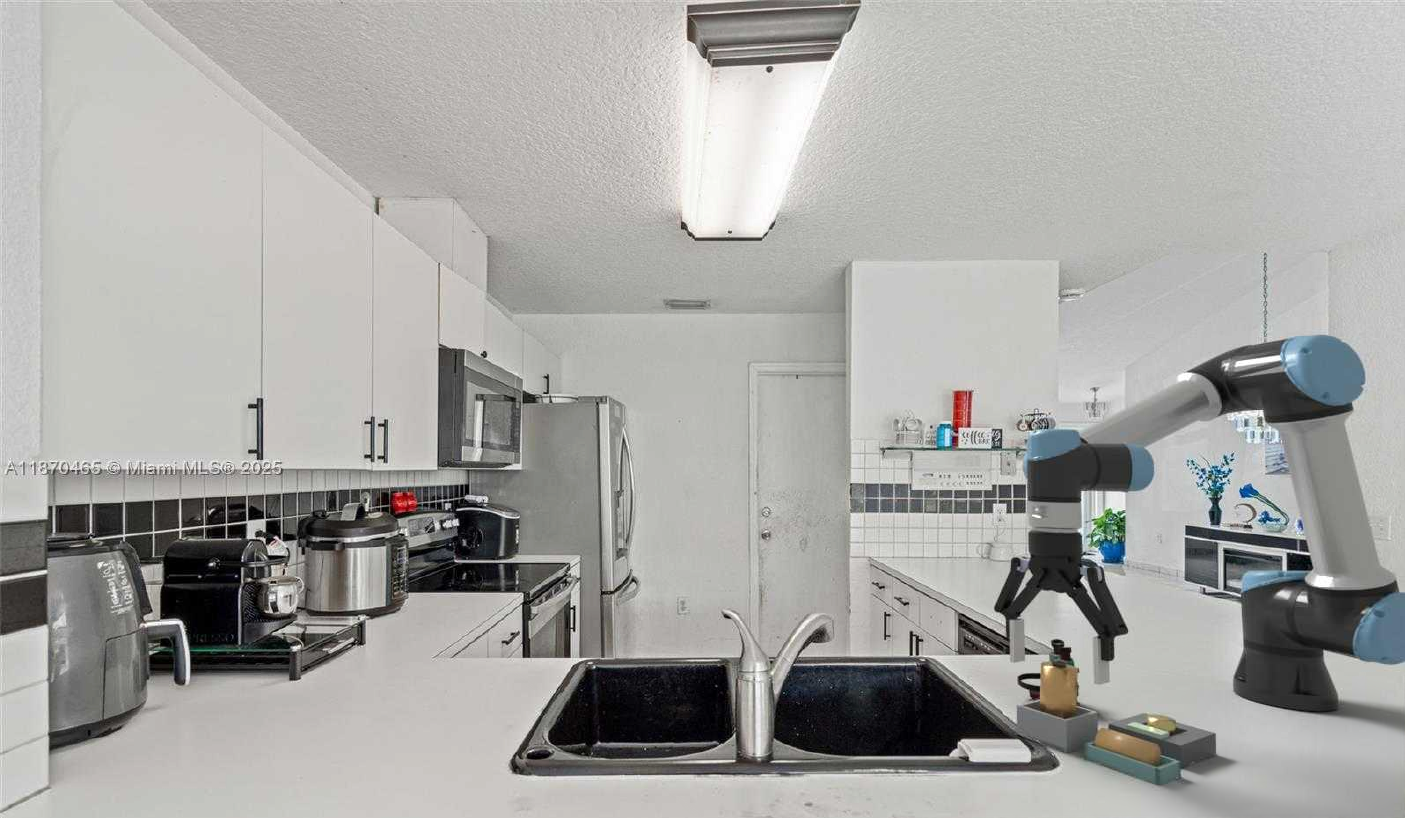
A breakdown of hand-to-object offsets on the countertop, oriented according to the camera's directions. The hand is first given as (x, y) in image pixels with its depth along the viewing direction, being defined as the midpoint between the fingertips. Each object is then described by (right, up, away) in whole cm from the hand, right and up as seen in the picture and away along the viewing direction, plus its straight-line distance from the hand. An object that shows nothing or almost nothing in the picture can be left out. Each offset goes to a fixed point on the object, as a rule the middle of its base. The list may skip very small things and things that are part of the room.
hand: (1057, 671), depth 113 cm
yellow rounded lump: (+13, -8, -4) cm, 16 cm away
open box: (0, -10, -1) cm, 10 cm away
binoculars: (+6, -12, +16) cm, 21 cm away
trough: (+5, -9, -11) cm, 15 cm away
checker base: (+13, -10, -4) cm, 17 cm away
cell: (-1, -9, -1) cm, 9 cm away
